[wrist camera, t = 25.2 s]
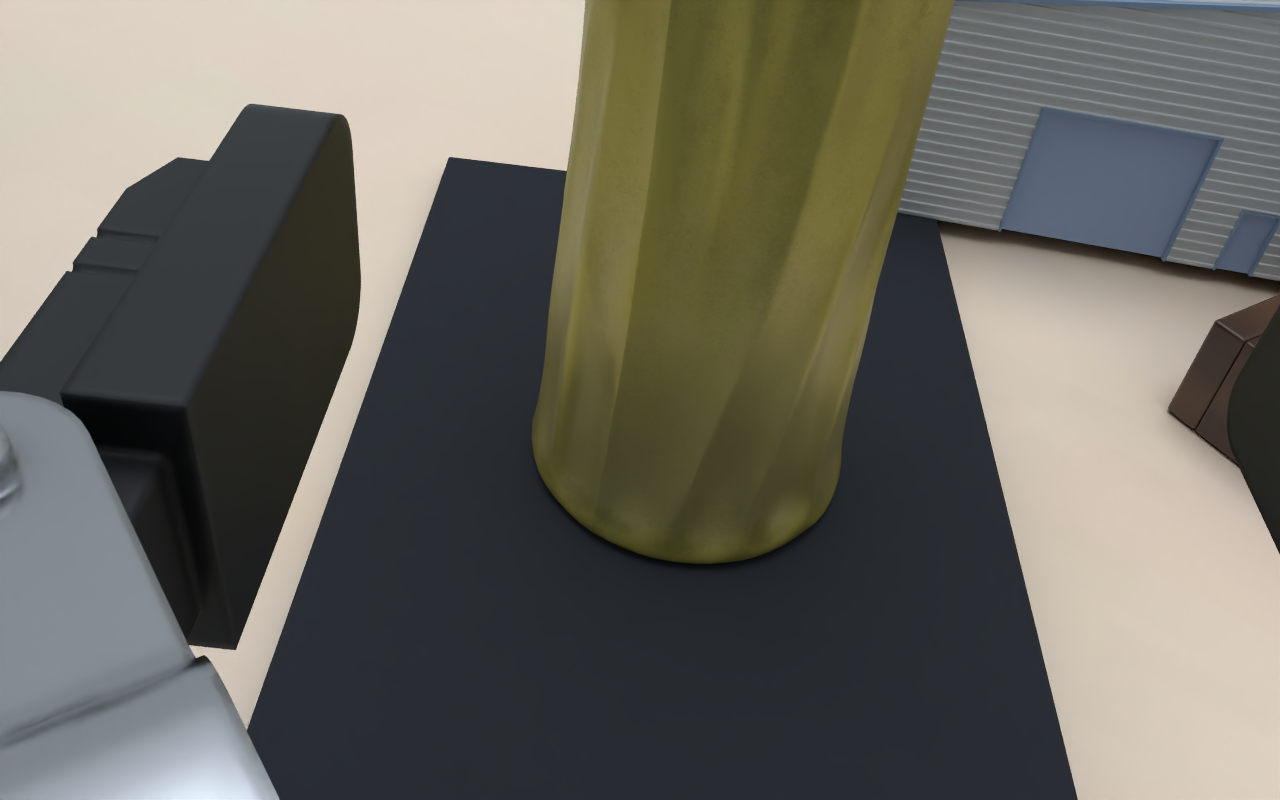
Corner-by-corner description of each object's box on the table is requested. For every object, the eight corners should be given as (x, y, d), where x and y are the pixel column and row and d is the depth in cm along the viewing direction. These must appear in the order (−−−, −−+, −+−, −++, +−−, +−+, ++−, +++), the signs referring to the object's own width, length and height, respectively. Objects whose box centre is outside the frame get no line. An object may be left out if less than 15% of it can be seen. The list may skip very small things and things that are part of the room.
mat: (1116, 1009, 17) (1127, 997, 16) (190, 913, 16) (185, 901, 16) (932, 227, 32) (936, 214, 31) (448, 169, 31) (448, 156, 31)
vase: (470, 485, 22) (480, -428, 13) (620, 319, 26) (710, -458, 17) (767, 622, 20) (1031, -315, 11) (876, 421, 25) (1134, -379, 15)
